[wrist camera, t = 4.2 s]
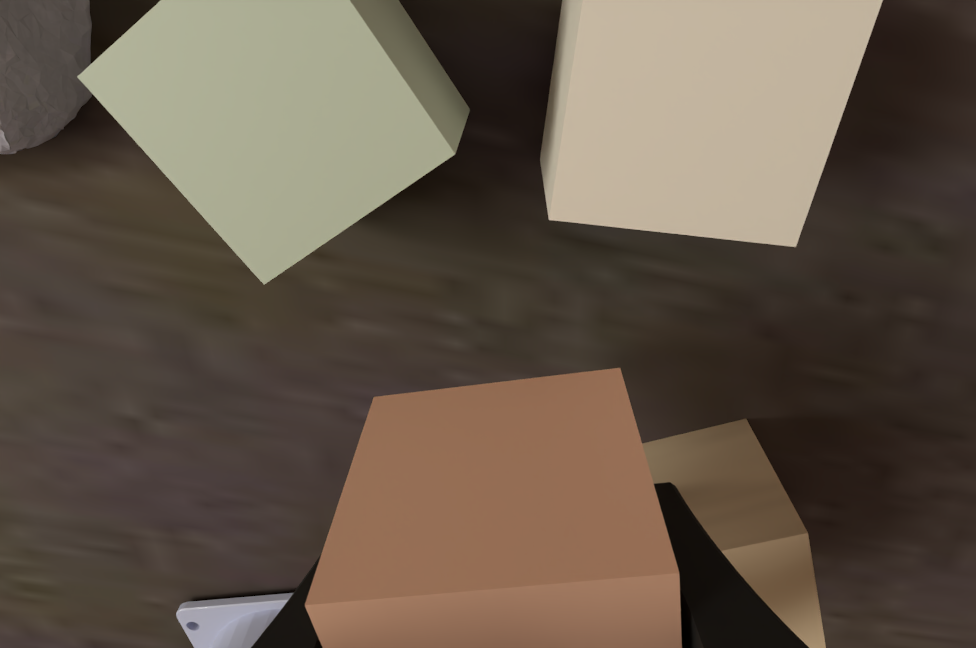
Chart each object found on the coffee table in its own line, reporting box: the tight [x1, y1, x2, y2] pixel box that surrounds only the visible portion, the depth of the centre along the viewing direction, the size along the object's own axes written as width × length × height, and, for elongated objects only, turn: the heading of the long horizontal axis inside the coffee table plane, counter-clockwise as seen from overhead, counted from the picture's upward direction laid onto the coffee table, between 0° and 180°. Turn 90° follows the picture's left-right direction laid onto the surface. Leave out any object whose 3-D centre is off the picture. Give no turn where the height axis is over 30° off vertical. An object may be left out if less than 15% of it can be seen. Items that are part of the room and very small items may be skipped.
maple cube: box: [642, 419, 826, 648], centre depth 20 cm, size 5×5×5 cm
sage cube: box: [77, 0, 470, 284], centre depth 14 cm, size 5×5×5 cm
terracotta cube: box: [305, 368, 682, 648], centre depth 12 cm, size 5×5×5 cm
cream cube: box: [540, 0, 883, 247], centre depth 14 cm, size 5×5×5 cm
